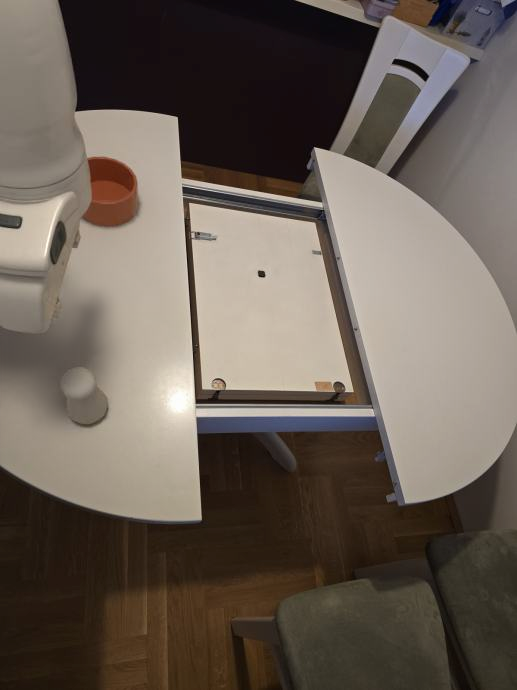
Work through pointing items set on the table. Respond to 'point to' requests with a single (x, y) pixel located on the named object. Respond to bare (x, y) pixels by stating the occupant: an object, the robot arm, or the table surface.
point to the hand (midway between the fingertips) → (62, 275)
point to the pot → (111, 192)
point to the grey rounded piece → (83, 396)
